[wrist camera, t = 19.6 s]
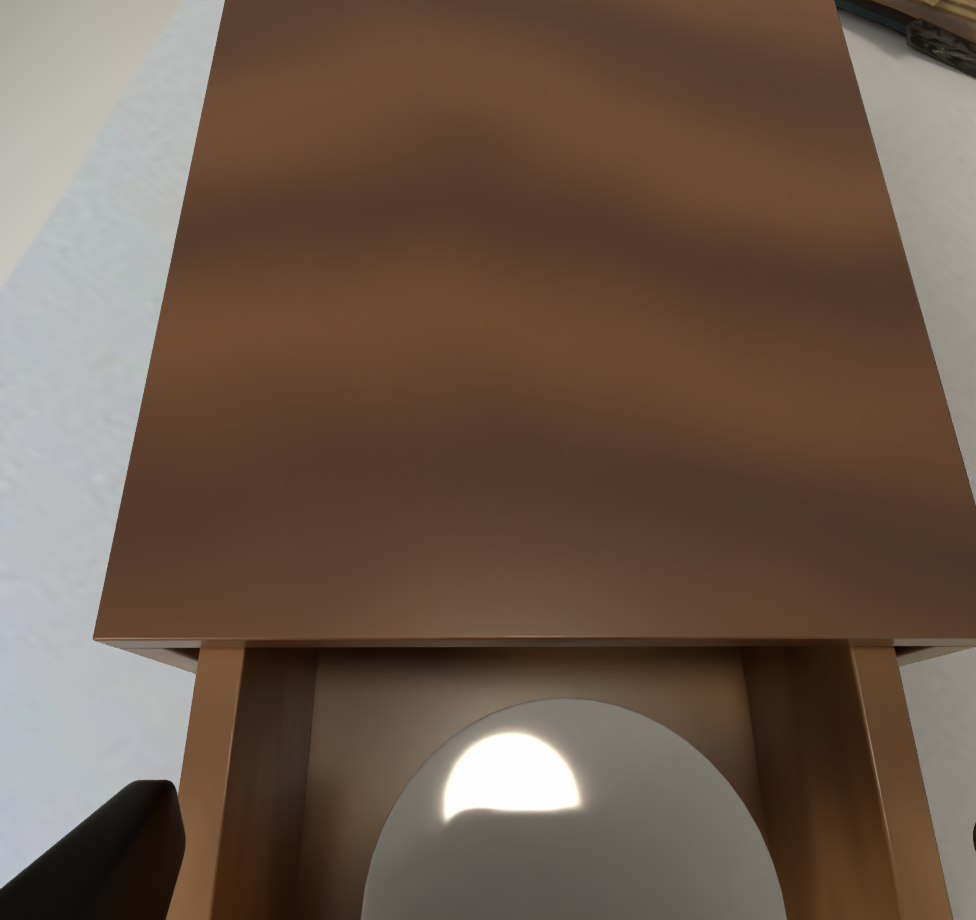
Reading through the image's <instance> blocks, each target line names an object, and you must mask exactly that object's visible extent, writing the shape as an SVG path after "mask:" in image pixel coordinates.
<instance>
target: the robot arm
mask: <svg viewBox="0 0 976 920" xmlns="http://www.w3.org/2000/svg"><path fill="white" fill-rule="evenodd" d="M973 842H974V847H975V851H976V823H975V826H974V830H973ZM185 846H186V834H185V828H184V824H183V819H182V814H181V810H180V805H179V800H178V796H177V791H176V788H175V786H174V784H173V783H172V782H171V781H168V780H137V781H134V782H132V783H130V784H128V785H127V786H126V787H124V788H123V789H122V790H121V791H119V792H118V793H117V794H116V795H115V796H113V797H112V798H111V799H110V800H108V801H107V802H106V803H105V804H104V805H102V806H101V807H100V808H99V809H98V810H96V811H95V812H94V813H93V814H91V815H90V816H89V817H88V818H87V819H85V820H84V821H83V822H82V823H80V824H79V825H78V826H77V827H76V828H74V829H73V830H72V831H71V832H69V833H68V834H67V835H66V836H65V837H63V838H62V839H61V840H60V841H58V842H57V843H56V844H55V845H54V846H52V847H51V848H50V849H49V850H47V851H46V852H45V853H44V854H43V855H41V856H40V857H39V858H38V859H36V860H35V861H34V862H33V863H32V864H30V865H29V866H28V867H27V868H26V869H24V870H23V871H22V872H21V873H19V874H18V875H17V876H16V877H15V878H13V879H12V880H11V881H10V882H8V883H7V884H6V885H5V886H4V887H2V888H1V889H0V920H166V917H167V913H168V910H169V906H170V903H171V899H172V896H173V893H174V889H175V886H176V882H177V879H178V875H179V872H180V868H181V865H182V861H183V858H184V853H185Z"/></svg>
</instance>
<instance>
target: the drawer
mask: <svg viewBox="0 0 976 920" xmlns="http://www.w3.org/2000/svg"><path fill="white" fill-rule="evenodd" d="M551 698H579V699H592V700H596V701H601V702H606V703H611V704H615V705H619V706H621V707H624V708H627V709H630V710H633V711H635V712H638V713H641V714H643V715H645V716H647V717H649V718H651V719H653V720H655V721H657V722H659V723H661V724H663V725H665V726H666V727H667V728H669V729H670V730H672V731H673V732H675V733H676V734H678V735H679V736H681V737H682V738H684V739H685V740H687V741H688V742H689V743H690V744H691V745H693V746H694V747H695V748H696V749H697V750H698V751H699V752H701V753H702V754H703V755H704V756H705V757H706V758H708V759H709V761H710V762H711V763H712V764H713V765H714V766H715V767H716V768H717V769H718V770H719V771H720V773H721V774H722V775H723V776H724V777H725V778H726V779H727V780H728V782H729V783H730V784H731V786H732V787H733V789H734V790H735V791H736V793H737V794H738V795H739V797H740V798H741V800H742V801H743V802H744V804H745V805H746V807H747V809H748V811H749V812H750V814H751V816H752V818H753V820H754V821H755V823H756V825H757V827H758V828H759V830H760V832H761V835H762V837H763V839H764V842H765V844H766V846H767V849H768V851H769V853H770V855H771V858H772V860H773V864H774V867H775V870H776V873H777V877H778V880H779V883H780V887H781V890H782V895H783V900H784V905H785V910H786V916H787V920H953V917H952V912H951V907H950V903H949V898H948V893H947V889H946V884H945V880H944V875H943V870H942V866H941V861H940V856H939V852H938V847H937V843H936V838H935V833H934V829H933V824H932V819H931V815H930V810H929V806H928V801H927V796H926V792H925V787H924V782H923V778H922V773H921V769H920V764H919V759H918V755H917V750H916V745H915V741H914V736H913V731H912V727H911V722H910V718H909V713H908V708H907V704H906V699H905V694H904V690H903V685H902V681H901V676H900V671H899V667H898V662H897V657H896V653H895V648H894V646H691V647H257V648H200V652H199V659H198V666H197V672H196V679H195V686H194V692H193V699H192V706H191V712H190V719H189V726H188V732H187V739H186V746H185V753H184V759H183V766H182V773H181V779H180V786H179V793H178V800H179V805H180V810H181V814H182V819H183V824H184V828H185V834H186V846H185V853H184V858H183V861H182V865H181V868H180V872H179V875H178V879H177V882H176V886H175V889H174V893H173V896H172V899H171V903H170V906H169V910H168V913H167V917H166V920H361V912H362V904H363V895H364V887H365V883H366V879H367V875H368V870H369V866H370V862H371V858H372V855H373V852H374V849H375V846H376V844H377V841H378V838H379V835H380V832H381V830H382V827H383V825H384V823H385V821H386V819H387V817H388V815H389V813H390V811H391V809H392V807H393V805H394V803H395V802H396V800H397V799H398V797H399V795H400V794H401V792H402V791H403V789H404V788H405V786H406V785H407V783H408V782H409V780H410V779H411V777H412V776H413V775H414V774H415V773H416V772H417V770H418V769H419V768H420V767H421V766H422V765H423V763H424V762H425V761H426V760H427V759H428V757H430V756H431V755H432V754H433V753H434V752H435V751H436V750H437V749H438V748H439V747H441V746H442V745H443V744H444V743H445V742H446V741H447V740H448V739H450V738H451V737H452V736H454V735H455V734H457V733H458V732H460V731H461V730H462V729H464V728H465V727H467V726H468V725H470V724H471V723H473V722H475V721H477V720H479V719H481V718H483V717H485V716H487V715H489V714H491V713H493V712H496V711H499V710H501V709H504V708H507V707H510V706H513V705H516V704H520V703H525V702H529V701H534V700H539V699H551Z"/></svg>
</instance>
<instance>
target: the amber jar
mask: <svg viewBox="0 0 976 920" xmlns="http://www.w3.org/2000/svg"><path fill="white" fill-rule="evenodd" d="M361 920H787V916H786V910H785V905H784V900H783V895H782V890H781V887H780V883H779V880H778V877H777V873H776V870H775V867H774V864H773V860H772V858H771V855H770V853H769V851H768V849H767V846H766V844H765V842H764V839H763V837H762V835H761V832H760V830H759V828H758V827H757V825H756V823H755V821H754V820H753V818H752V816H751V814H750V812H749V811H748V809H747V807H746V805H745V804H744V802H743V801H742V800H741V798H740V797H739V795H738V794H737V793H736V791H735V790H734V789H733V787H732V786H731V784H730V783H729V782H728V780H727V779H726V778H725V777H724V776H723V775H722V774H721V773H720V771H719V770H718V769H717V768H716V767H715V766H714V765H713V764H712V763H711V762H710V761H709V759H708V758H706V757H705V756H704V755H703V754H702V753H701V752H699V751H698V750H697V749H696V748H695V747H694V746H693V745H691V744H690V743H689V742H688V741H687V740H685V739H684V738H682V737H681V736H679V735H678V734H676V733H675V732H673V731H672V730H670V729H669V728H667V727H666V726H665V725H663V724H661V723H659V722H657V721H655V720H653V719H651V718H649V717H647V716H645V715H643V714H641V713H638V712H635V711H633V710H630V709H627V708H624V707H621V706H619V705H615V704H611V703H606V702H601V701H596V700H592V699H579V698H551V699H539V700H534V701H529V702H525V703H520V704H516V705H513V706H510V707H507V708H504V709H501V710H499V711H496V712H493V713H491V714H489V715H487V716H485V717H483V718H481V719H479V720H477V721H475V722H473V723H471V724H470V725H468V726H467V727H465V728H464V729H462V730H461V731H460V732H458V733H457V734H455V735H454V736H452V737H451V738H450V739H448V740H447V741H446V742H445V743H444V744H443V745H442V746H441V747H439V748H438V749H437V750H436V751H435V752H434V753H433V754H432V755H431V756H430V757H428V759H427V760H426V761H425V762H424V763H423V765H422V766H421V767H420V768H419V769H418V770H417V772H416V773H415V774H414V775H413V776H412V777H411V779H410V780H409V782H408V783H407V785H406V786H405V788H404V789H403V791H402V792H401V794H400V795H399V797H398V799H397V800H396V802H395V803H394V805H393V807H392V809H391V811H390V813H389V815H388V817H387V819H386V821H385V823H384V825H383V827H382V830H381V832H380V835H379V838H378V841H377V844H376V846H375V849H374V852H373V855H372V858H371V862H370V866H369V870H368V875H367V879H366V883H365V887H364V895H363V904H362V912H361Z"/></svg>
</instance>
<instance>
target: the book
mask: <svg viewBox="0 0 976 920" xmlns="http://www.w3.org/2000/svg"><path fill="white" fill-rule="evenodd" d="M834 1H835V5H836V6H838V7H840V8H843V9H845V10H848V11H850V12H853V13H855V14H858V15H861V16H863V17H866V18H868V19H871V20H873V21H876V22H878V23H881V24H883V25H886V26H888V27H891V28H893V29H895V30H898V31H900V32H902V33H904V34H907V45H909V46H912V47H914V48H916V49H918V50H920V51H922V52H924V53H926V54H928V55H931V56H933V57H935V58H937V59H939V60H941V61H943V62H945V63H947V64H950V65H952V66H954V67H956V68H958V69H960V70H962V71H964V72H966V73H969V74H971V75H973V76H975V77H976V0H834Z"/></svg>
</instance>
